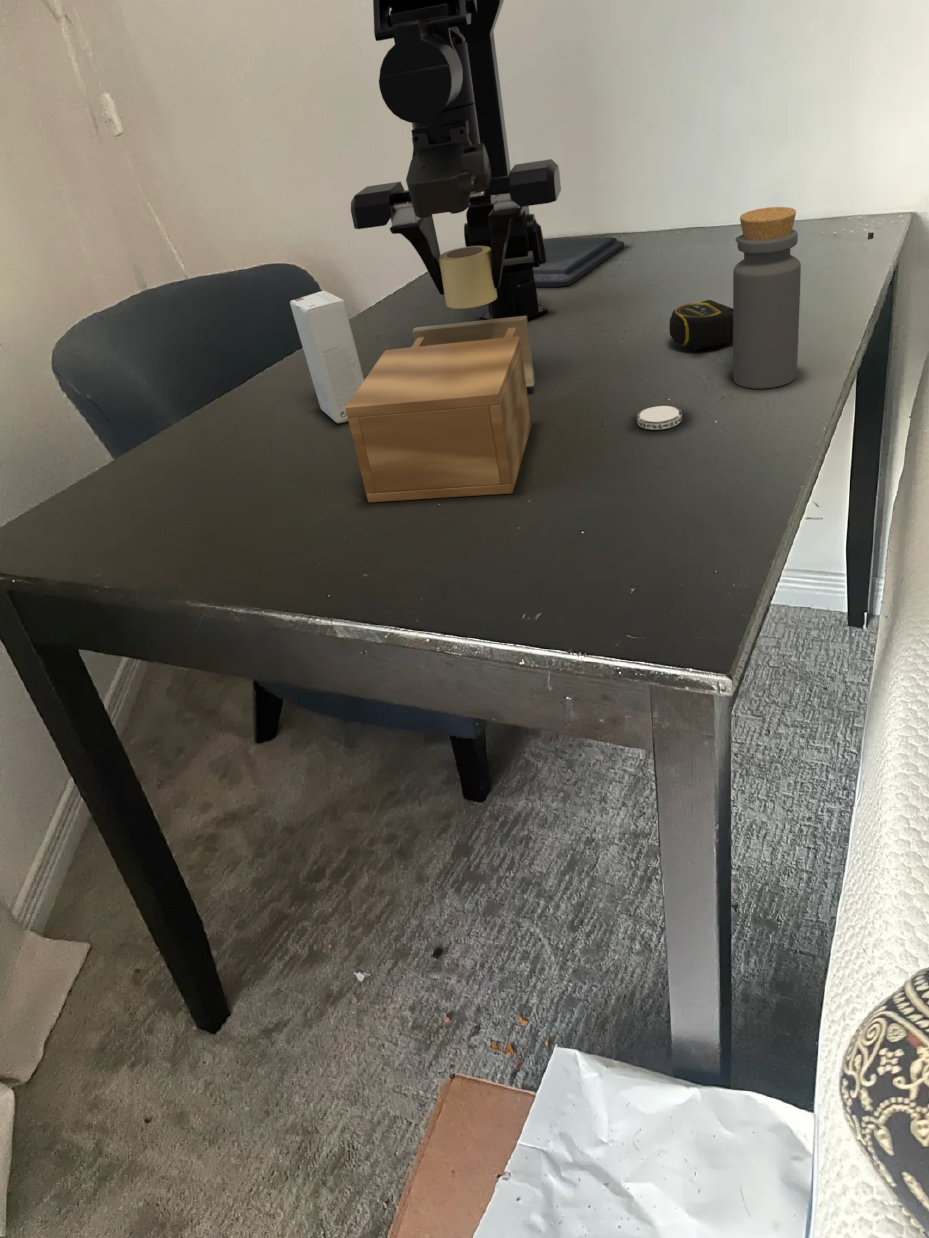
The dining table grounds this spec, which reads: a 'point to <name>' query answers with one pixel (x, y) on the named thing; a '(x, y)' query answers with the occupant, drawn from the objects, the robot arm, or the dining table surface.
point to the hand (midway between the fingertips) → (469, 290)
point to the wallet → (573, 259)
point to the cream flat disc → (659, 417)
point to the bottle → (766, 300)
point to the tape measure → (701, 324)
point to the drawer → (480, 336)
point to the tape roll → (467, 277)
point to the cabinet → (442, 421)
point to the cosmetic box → (328, 351)
